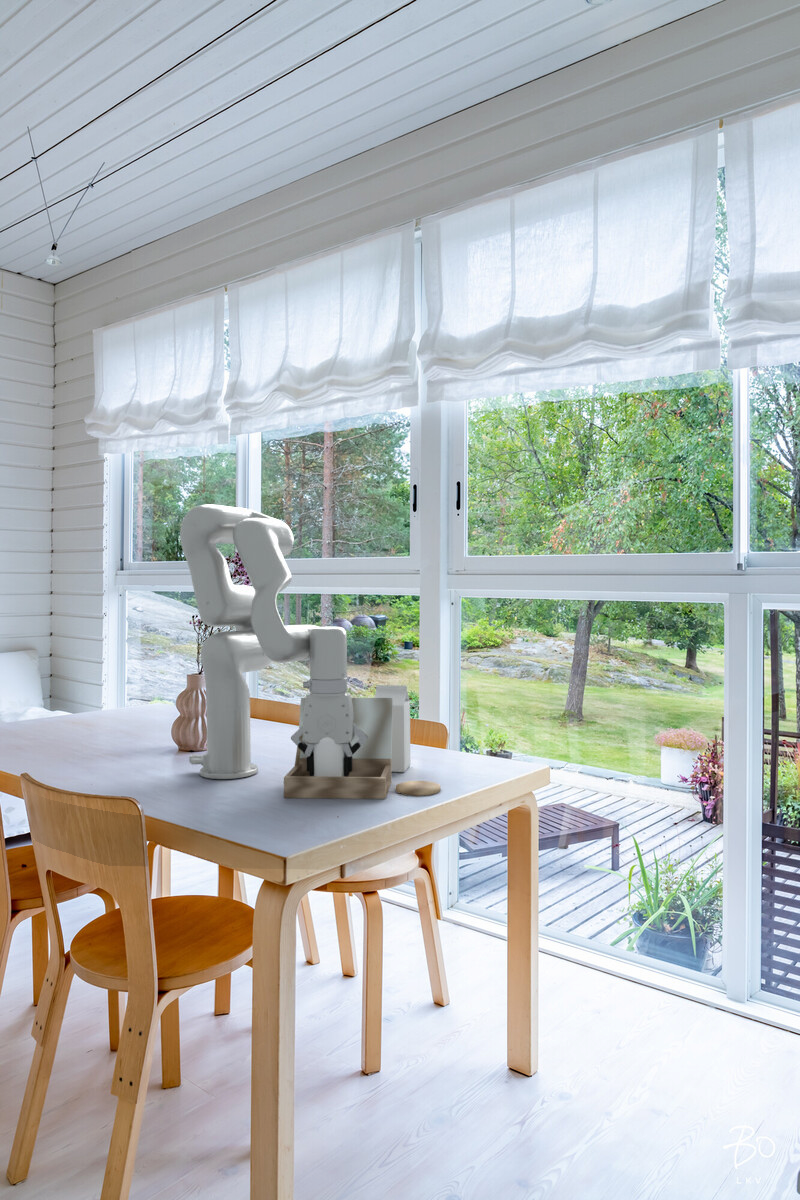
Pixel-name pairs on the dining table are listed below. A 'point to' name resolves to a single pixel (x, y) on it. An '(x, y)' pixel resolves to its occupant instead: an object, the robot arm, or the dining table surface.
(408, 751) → the milk carton
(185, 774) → the dining table surface
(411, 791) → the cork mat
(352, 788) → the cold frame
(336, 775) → the can
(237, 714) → the robot arm
